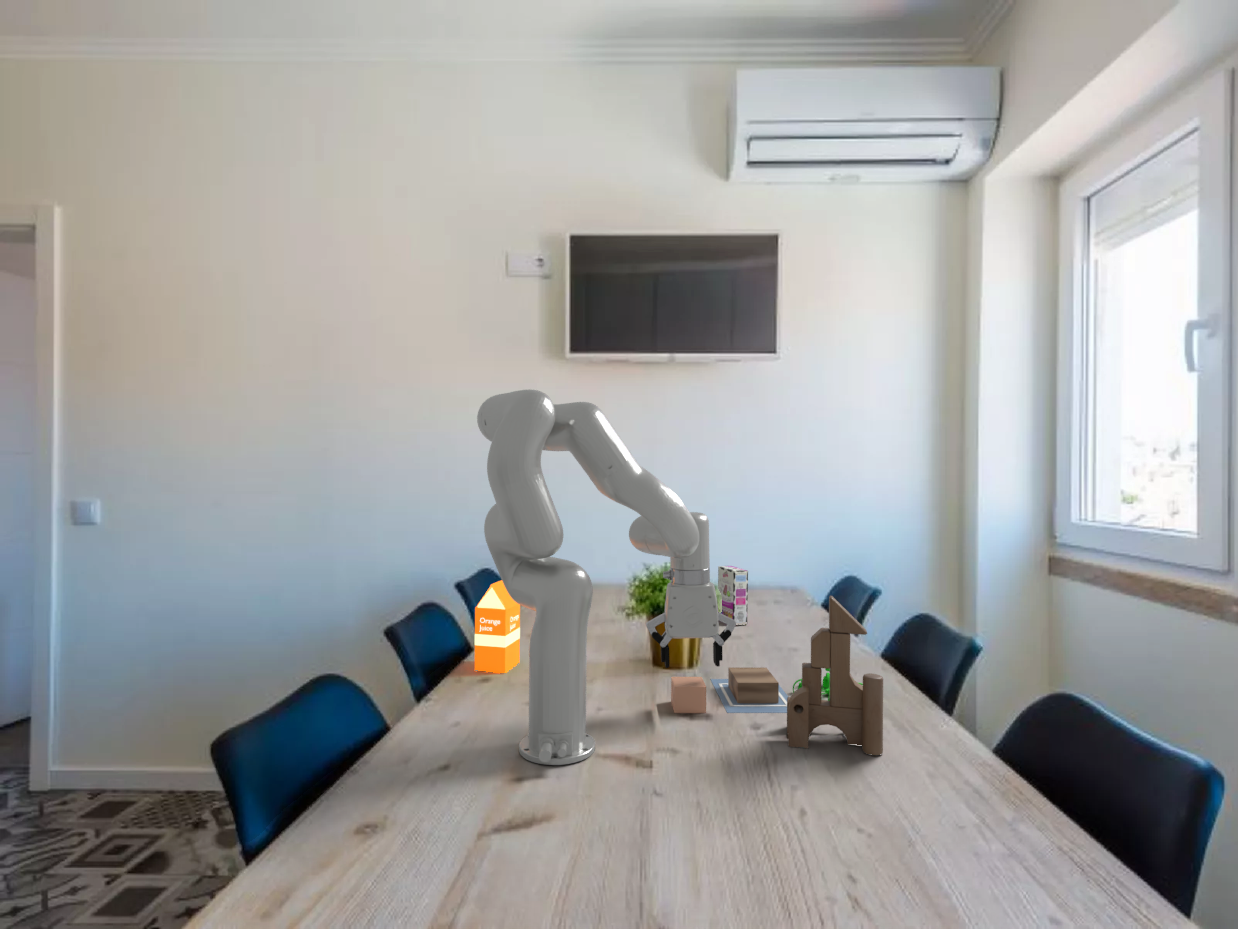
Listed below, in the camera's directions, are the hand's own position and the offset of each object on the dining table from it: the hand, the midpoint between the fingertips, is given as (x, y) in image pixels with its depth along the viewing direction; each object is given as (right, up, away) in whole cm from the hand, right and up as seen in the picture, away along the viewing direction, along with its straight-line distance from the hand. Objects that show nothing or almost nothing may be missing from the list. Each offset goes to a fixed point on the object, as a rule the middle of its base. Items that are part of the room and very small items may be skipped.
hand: (691, 665), depth 130 cm
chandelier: (+29, -10, +7) cm, 31 cm away
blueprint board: (+13, -9, +7) cm, 17 cm away
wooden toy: (+23, -9, -15) cm, 29 cm away
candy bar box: (+20, -9, +75) cm, 78 cm away
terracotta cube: (-1, -9, -1) cm, 9 cm away
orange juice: (-42, -9, +27) cm, 51 cm away
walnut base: (+13, -8, +7) cm, 17 cm away
